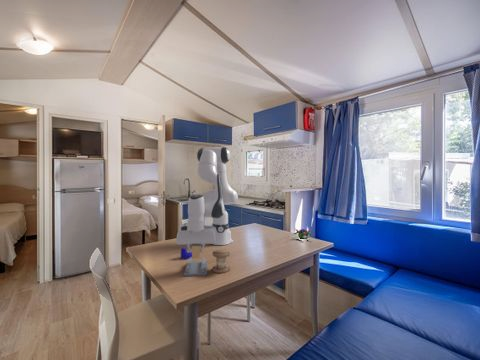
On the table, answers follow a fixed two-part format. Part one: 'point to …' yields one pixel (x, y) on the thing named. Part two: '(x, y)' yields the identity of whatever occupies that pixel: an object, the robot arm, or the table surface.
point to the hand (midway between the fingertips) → (196, 252)
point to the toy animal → (303, 233)
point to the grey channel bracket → (196, 268)
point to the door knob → (221, 261)
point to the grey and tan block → (195, 250)
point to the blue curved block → (185, 254)
